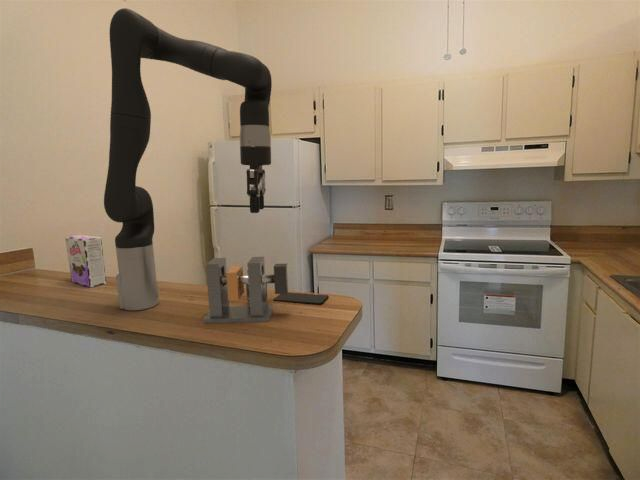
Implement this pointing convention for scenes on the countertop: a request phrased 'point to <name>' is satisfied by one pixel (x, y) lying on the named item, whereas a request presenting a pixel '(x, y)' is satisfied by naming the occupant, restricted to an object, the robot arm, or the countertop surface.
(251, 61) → the robot arm
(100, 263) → the candy box
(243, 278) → the shaft
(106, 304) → the countertop surface
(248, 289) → the pill bottle
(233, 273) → the spacer
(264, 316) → the bearing bracket
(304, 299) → the smartphone
